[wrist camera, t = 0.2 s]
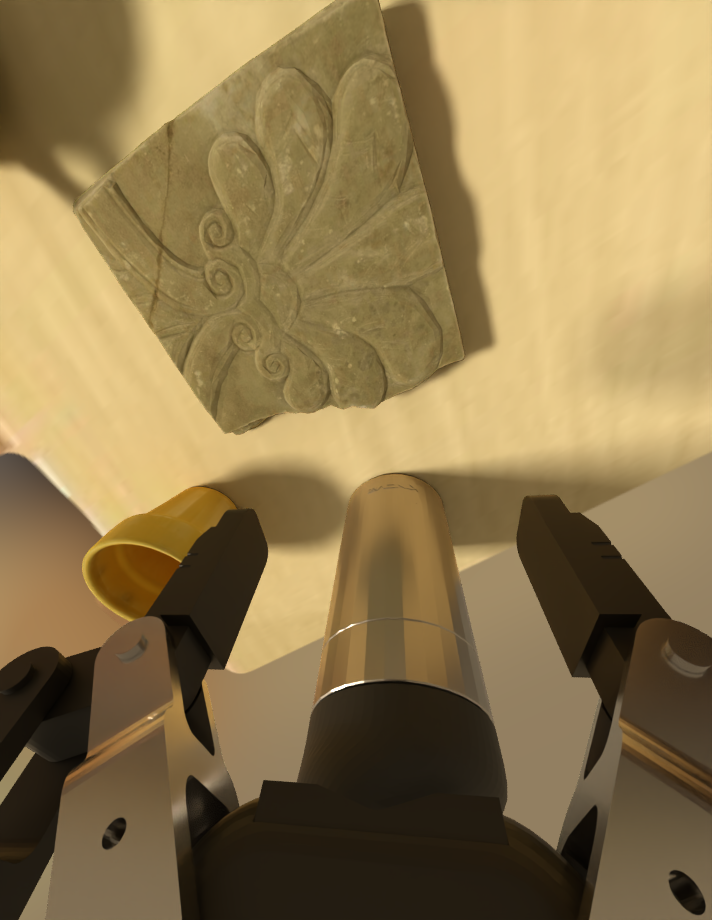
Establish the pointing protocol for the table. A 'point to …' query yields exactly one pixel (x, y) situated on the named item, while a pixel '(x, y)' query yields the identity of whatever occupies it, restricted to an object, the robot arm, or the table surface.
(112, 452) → the table surface
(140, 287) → the decorative tile
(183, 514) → the plant pot
